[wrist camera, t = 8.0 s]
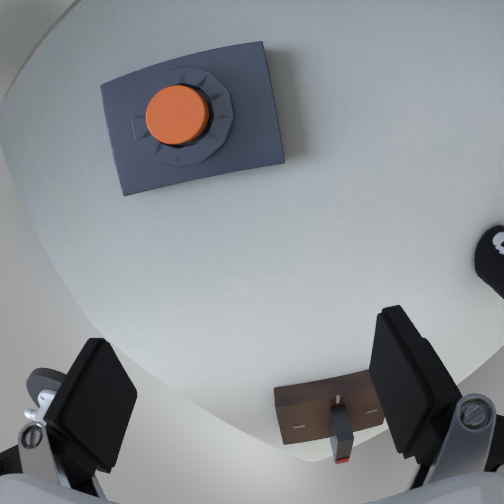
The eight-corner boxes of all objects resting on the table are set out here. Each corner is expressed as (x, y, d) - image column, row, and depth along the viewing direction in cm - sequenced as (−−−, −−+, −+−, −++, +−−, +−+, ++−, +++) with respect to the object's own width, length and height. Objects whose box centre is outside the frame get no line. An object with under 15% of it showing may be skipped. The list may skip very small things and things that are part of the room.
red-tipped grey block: (329, 407, 28) (338, 444, 24) (344, 403, 28) (354, 440, 24) (328, 432, 31) (335, 464, 26) (342, 429, 31) (349, 461, 26)
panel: (282, 429, 35) (283, 446, 32) (273, 386, 31) (275, 407, 28) (376, 409, 34) (382, 426, 31) (387, 362, 30) (396, 381, 27)
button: (160, 148, 17) (151, 151, 15) (150, 97, 16) (140, 94, 14) (214, 136, 17) (210, 136, 15) (204, 82, 15) (199, 78, 14)
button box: (134, 190, 22) (113, 203, 18) (112, 87, 18) (87, 82, 14) (281, 160, 21) (288, 166, 17) (261, 49, 17) (263, 32, 14)
